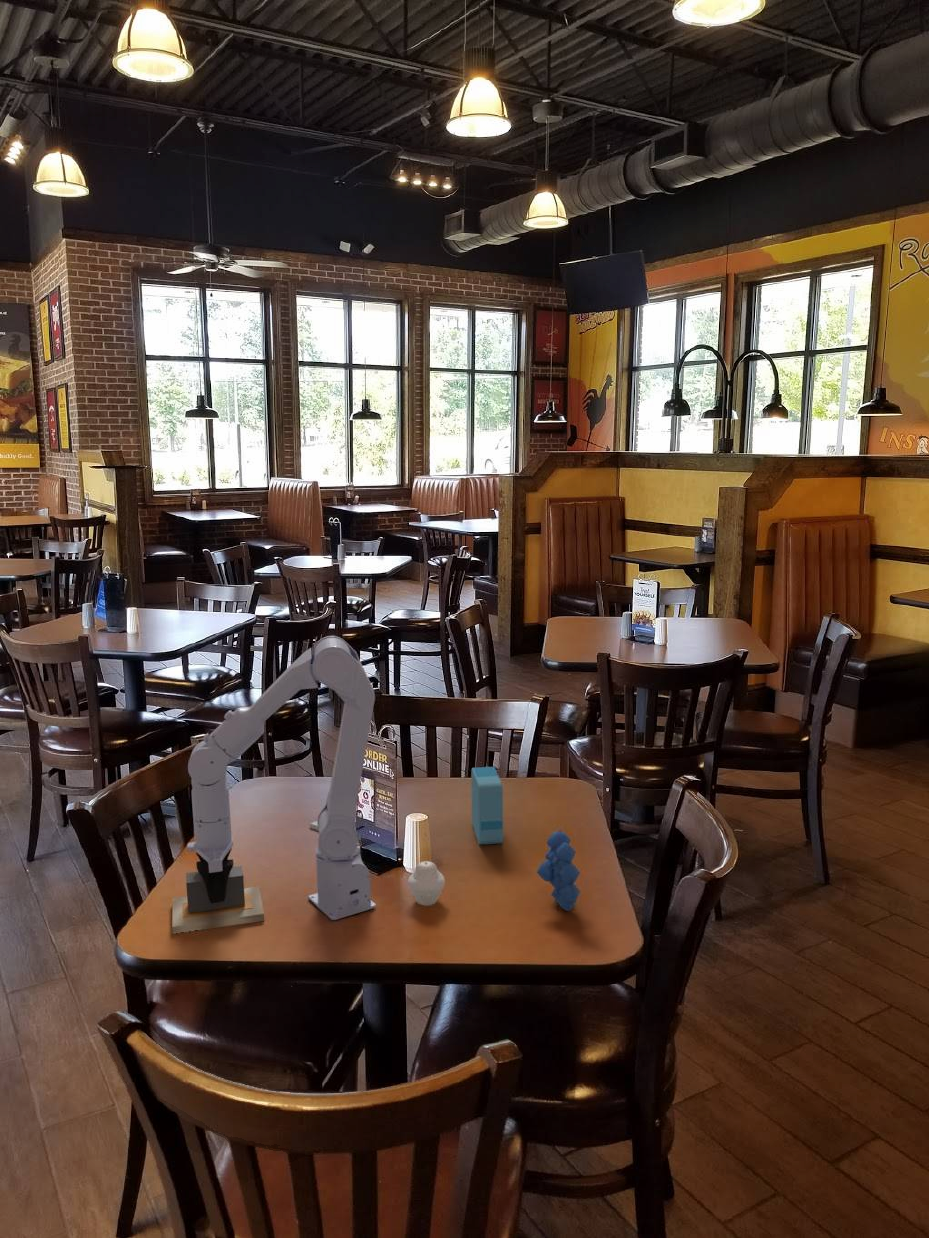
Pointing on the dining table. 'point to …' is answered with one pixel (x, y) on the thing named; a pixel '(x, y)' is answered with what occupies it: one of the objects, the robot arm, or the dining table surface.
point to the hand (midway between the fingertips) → (216, 895)
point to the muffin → (426, 883)
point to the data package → (487, 805)
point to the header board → (217, 914)
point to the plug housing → (199, 895)
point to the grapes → (560, 870)
